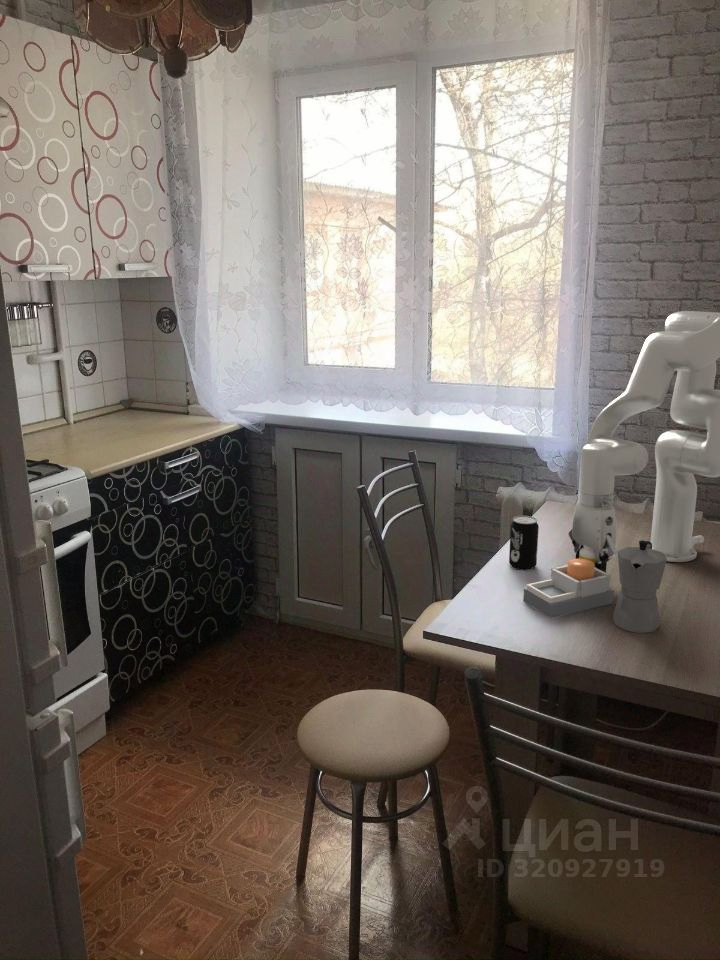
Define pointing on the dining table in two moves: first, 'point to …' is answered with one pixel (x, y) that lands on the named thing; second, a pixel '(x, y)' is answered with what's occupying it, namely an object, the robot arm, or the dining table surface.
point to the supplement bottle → (588, 554)
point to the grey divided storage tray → (568, 593)
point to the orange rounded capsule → (580, 569)
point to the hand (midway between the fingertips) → (590, 572)
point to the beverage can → (523, 542)
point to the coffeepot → (639, 588)
